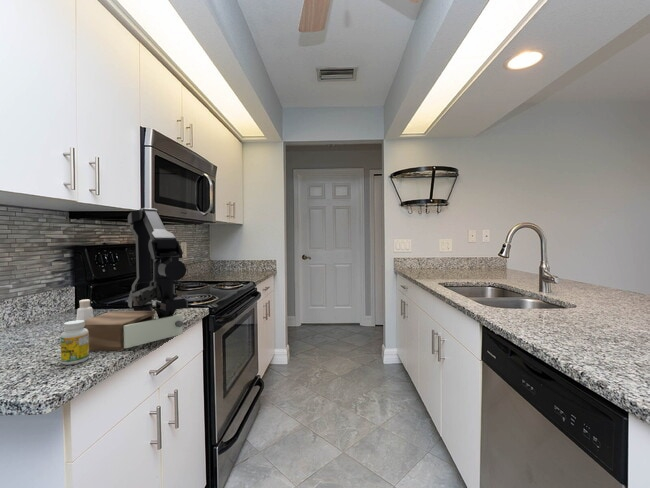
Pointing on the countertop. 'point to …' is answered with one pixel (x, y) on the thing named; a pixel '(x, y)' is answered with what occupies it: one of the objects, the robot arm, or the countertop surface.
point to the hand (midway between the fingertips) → (164, 328)
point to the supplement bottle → (74, 343)
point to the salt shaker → (84, 310)
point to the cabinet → (112, 328)
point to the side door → (152, 330)
